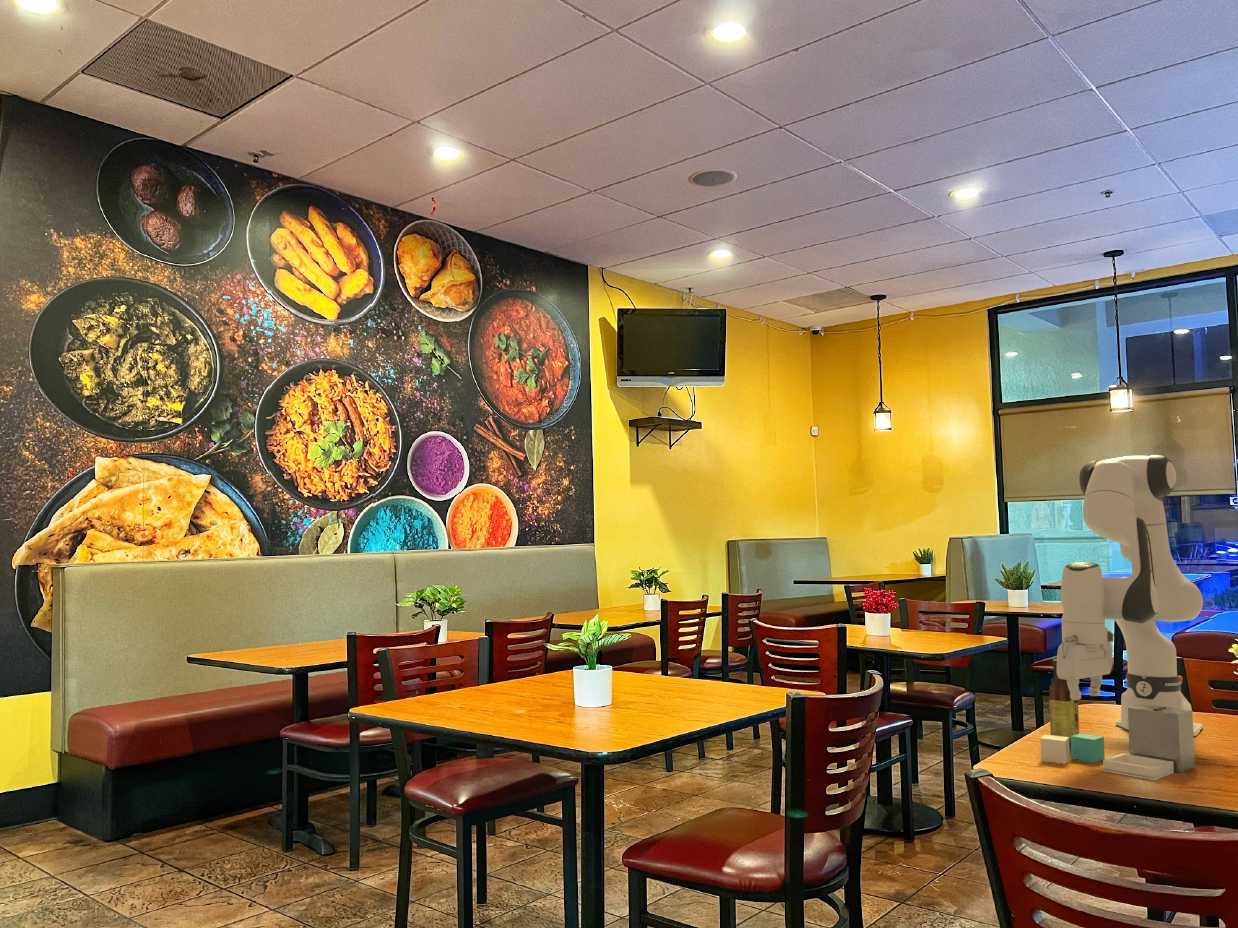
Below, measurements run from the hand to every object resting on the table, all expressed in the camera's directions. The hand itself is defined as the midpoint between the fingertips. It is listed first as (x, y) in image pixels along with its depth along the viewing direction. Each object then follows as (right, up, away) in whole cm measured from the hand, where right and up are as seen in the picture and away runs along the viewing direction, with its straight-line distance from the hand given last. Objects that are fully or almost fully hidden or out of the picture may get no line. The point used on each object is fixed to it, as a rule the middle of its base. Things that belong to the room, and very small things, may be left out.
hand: (1085, 697), depth 209 cm
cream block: (-8, -13, -3) cm, 16 cm away
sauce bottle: (+2, -15, +14) cm, 20 cm away
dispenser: (+13, -13, -7) cm, 20 cm away
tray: (+5, -12, -13) cm, 18 cm away
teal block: (0, -14, -1) cm, 14 cm away
